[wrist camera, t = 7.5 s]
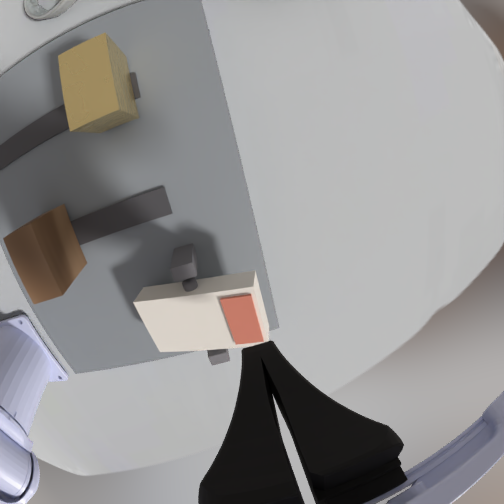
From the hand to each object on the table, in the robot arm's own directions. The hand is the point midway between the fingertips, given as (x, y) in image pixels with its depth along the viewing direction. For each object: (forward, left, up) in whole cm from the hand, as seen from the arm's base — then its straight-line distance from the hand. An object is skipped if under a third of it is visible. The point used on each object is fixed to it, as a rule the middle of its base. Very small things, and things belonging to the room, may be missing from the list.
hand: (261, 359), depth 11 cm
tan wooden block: (-4, +14, -7) cm, 16 cm away
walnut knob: (-10, +7, -7) cm, 14 cm away
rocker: (-3, 0, -5) cm, 5 cm away
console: (-7, +7, -9) cm, 14 cm away
